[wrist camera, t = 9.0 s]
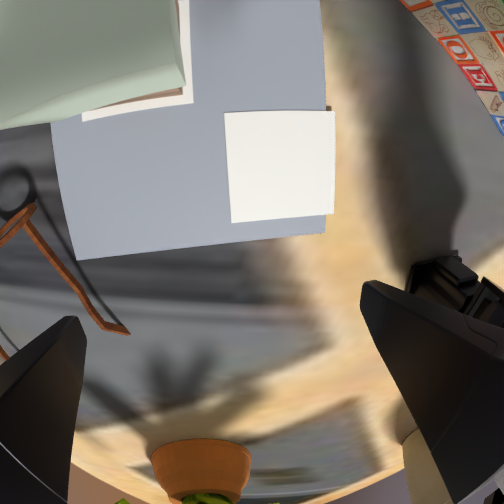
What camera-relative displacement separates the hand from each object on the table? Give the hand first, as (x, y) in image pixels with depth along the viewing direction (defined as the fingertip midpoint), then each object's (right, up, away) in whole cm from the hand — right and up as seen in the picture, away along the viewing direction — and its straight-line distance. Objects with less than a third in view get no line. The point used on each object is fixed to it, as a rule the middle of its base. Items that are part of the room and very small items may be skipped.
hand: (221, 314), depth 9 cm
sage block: (-5, +11, +1) cm, 12 cm away
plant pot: (+31, -30, +34) cm, 55 cm away
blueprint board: (-3, +11, +8) cm, 14 cm away
